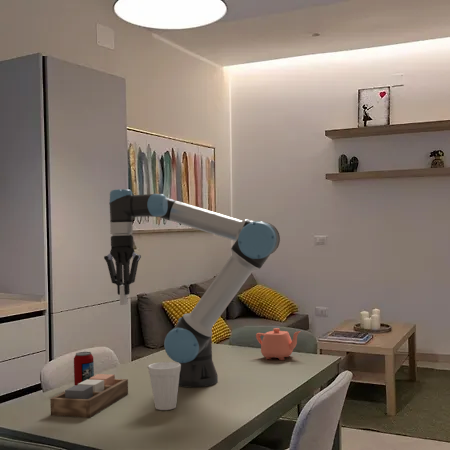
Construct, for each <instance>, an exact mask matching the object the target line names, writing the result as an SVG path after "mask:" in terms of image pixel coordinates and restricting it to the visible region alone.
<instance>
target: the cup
mask: <svg viewBox="0 0 450 450" xmlns="http://www.w3.org/2000/svg"><path fill="white" fill-rule="evenodd" d="M147 369H148V374H149V379H150V385H151V389H152V397H153V401H154V406H155V407H154V408H155V410H159V411H169V410H173V409H176V408H177V400H178V393H179V392H178V391H179V386H178V384H179V375H180V370H181V364H180V363H178V362H175V361H160V362H154V363H151V364H148V366H147Z"/></svg>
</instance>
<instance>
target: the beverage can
mask: <svg viewBox="0 0 450 450" xmlns="http://www.w3.org/2000/svg"><path fill="white" fill-rule="evenodd" d="M94 364H95V363H94V356H93V354H92V352H91V351H79V352H77V353H75V354H74V358H73V378H74V380H73V381H74V383H73V384H74V386H75V385H78V384H79V383H81V382H83V381H85V380H87V379H89V378H91V377H93V376H95V365H94Z"/></svg>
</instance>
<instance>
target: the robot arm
mask: <svg viewBox="0 0 450 450" xmlns="http://www.w3.org/2000/svg"><path fill="white" fill-rule="evenodd" d="M108 205H109V219H110V220H109V221H110V222H109V224H110V232H109V233H110V234H111V236H110V247H111V248H110V250H109V253H108V254H106V255H104V256H103V258H104V260H105V262H106V263H107V268H108V273H109V277H110V280H111V284H114V285H116V288H117V289H116V290H117V295H118V296H119V305H120V306H125V305H128V303H129V302H128V301H129V300H128V295H130V293H131V292H130V285H131V284H133V283H135V282H136V277H137V270H138V265H139V261H140V259H141V258H142V255H141V254H138V253H136V252H135V248H134V236H133V235H132V234H133V233H134V228H133V224H134V223H133V218H139V217H140V218H142V217H143V218H144V217H149V218H150V217H152V218H160V219H163V220H167V221H171V222H174V223H177V224H180V225H182V226H187V227H190V228H192V229H196V230H198V231H202V232H205V233H207V234H208V233H209V234H212V235H214V236H218V237H221V238H224V239H228V240H230V241H234V243H233V245H232V246H231V248H230V251H231V255H230V257H229V259H228V260H227V261H226V263H225V264H224V265H223V267H222V268H221V270H220V271H219V272H218V274H217V275H216V277H215V278H214V279H213V281H212V282H211V284H210V285H209V286H208V288H207V289H206V291H205V292H204V293H203V295H202V296H201V298H200V299H199V300H198V302H197V303H196V305H195V306H194V307H193V309H192V311H191V312H189V313H188V312H187V313H184V314H183V315H182V316H181V317H180V318H178V320H177V321H178V322H177V324H176V325H175V327H173V329H171V330H170V331H168V333H167V334H166V335H165V338H164V344H163V346H164V350H165V353H166V355H167V356H168V358H170V359H171V360H172V362H177V363H180V364H181V370H180V375H179V384H178V387H184V388H201V387H202V388H203V387H210V386H212V385H213V386H214V385H215V384H217V383H218V381H219V380H218V379H219V377H218V371H217V370H216V367H215V364H214V361H213V342H212V340H213V339H212V336H213V332H212V331H213V327H214V325H215V324H216V323H217V322H218V320H219V318H220V317H221V316H222V315H223V313H224V311H225V310H226V309H227V307H228V306H229V305H230V303H231V302H232V300H233V299H234V297H236V295H237V293H239V291H240V289H241V288H242V286H243V285H244V284H245V282H246V281H247V279H248V278H249V277H250V275H251V274H252V273H253V271H256V270H261V268H262V266H263V265H264V264H265V263H266V261H267V260H268V258H269V257H270V256H271V255H272V254H273V253H275V251H277V249H278V248H279V246H280V243H281V242H280V241H281V238H280V237H281V235H280V233H279V231H278V229H277V228H276V226H274V225H273V224H272V223H270V222H268V221H267V222H266V221H262V220H261V221H260V220H256V221H255V220H251V219H249V218H246V219H244V220H243V219H242V220H241V219H238V218H235V217H231V216H229V215H225V214H223V213H218V212H215V211H212V210H209V209H205V208H203V207H199V206H196V205H193V204H192V205H191V204H189V203H185V202H182V201H180V200H179V201H178V200H175V199H173V198H169V197H168V196H166V195H165V194H163V193H149V194H133V192H132V190H131V189H127V188H126V189H124V188H122V189H112V190H111V191H110V192H109V204H108ZM131 259H132V262H131ZM130 264H131V265H130ZM130 266H131V267H130Z"/></svg>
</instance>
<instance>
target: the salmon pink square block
mask: <svg viewBox="0 0 450 450" xmlns="http://www.w3.org/2000/svg"><path fill="white" fill-rule="evenodd" d="M89 379H90V380H104V385H106V386H113V385H115V379H116V375H115V374H111V373H109V374H106V373H104V374H103V373H102V374H101V373H97V374H94V376H93V377H91V378H89Z"/></svg>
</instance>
